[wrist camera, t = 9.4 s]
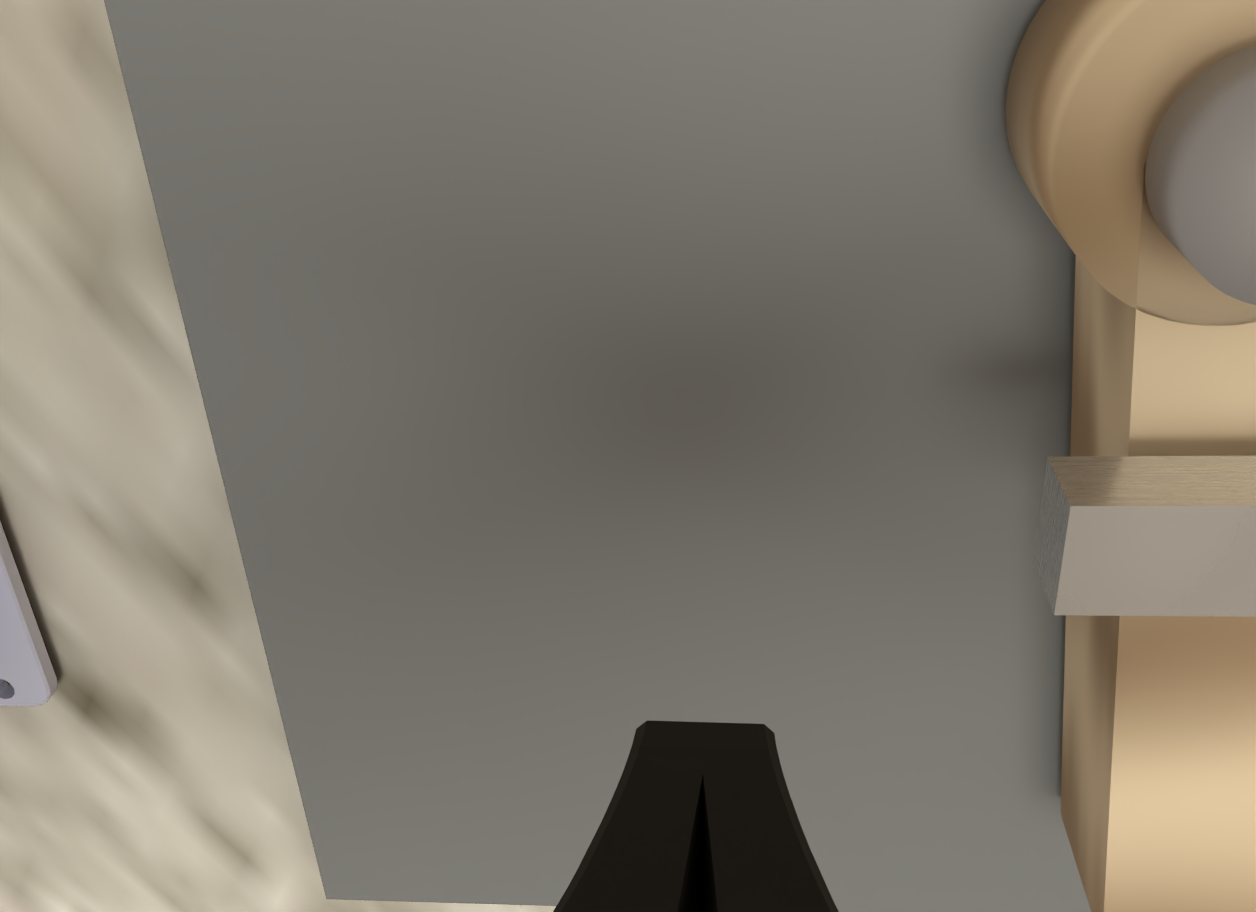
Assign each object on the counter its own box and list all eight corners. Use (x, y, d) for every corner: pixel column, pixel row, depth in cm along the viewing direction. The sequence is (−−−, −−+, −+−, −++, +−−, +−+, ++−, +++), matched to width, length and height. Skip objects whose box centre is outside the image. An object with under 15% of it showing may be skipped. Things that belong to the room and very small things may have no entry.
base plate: (339, 863, 27) (245, 1119, 22) (112, -105, 18) (-152, -58, 12) (1161, 885, 26) (1270, 1167, 20) (1410, -171, 16) (1740, -149, 11)
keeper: (980, 422, 20) (1054, 615, 15) (989, 331, 19) (1070, 505, 14) (1302, 419, 19) (1478, 617, 15) (1326, 326, 18) (1519, 505, 14)
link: (1005, -57, 16) (1059, -25, 13) (1366, -111, 15) (1498, -88, 12) (1006, 816, 23) (1040, 947, 21) (1248, 804, 23) (1315, 938, 20)
